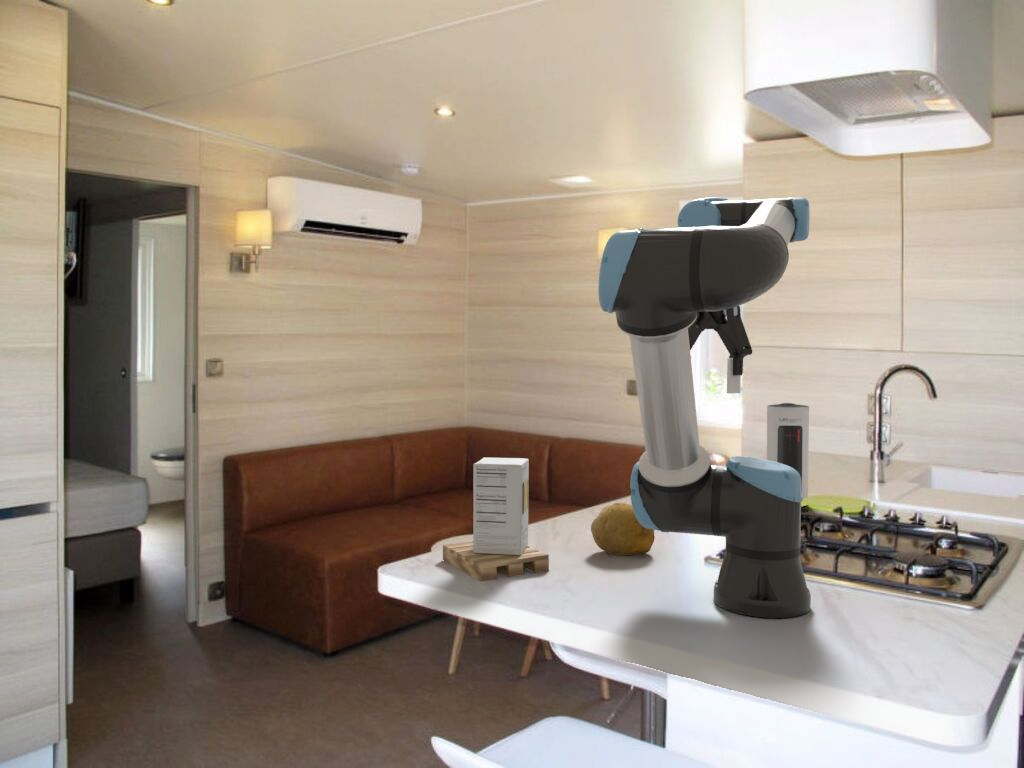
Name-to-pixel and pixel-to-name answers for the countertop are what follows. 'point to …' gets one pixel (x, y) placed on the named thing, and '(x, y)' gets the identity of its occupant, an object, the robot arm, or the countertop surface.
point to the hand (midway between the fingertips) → (708, 391)
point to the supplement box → (500, 505)
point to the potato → (621, 531)
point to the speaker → (789, 438)
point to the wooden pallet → (493, 561)
